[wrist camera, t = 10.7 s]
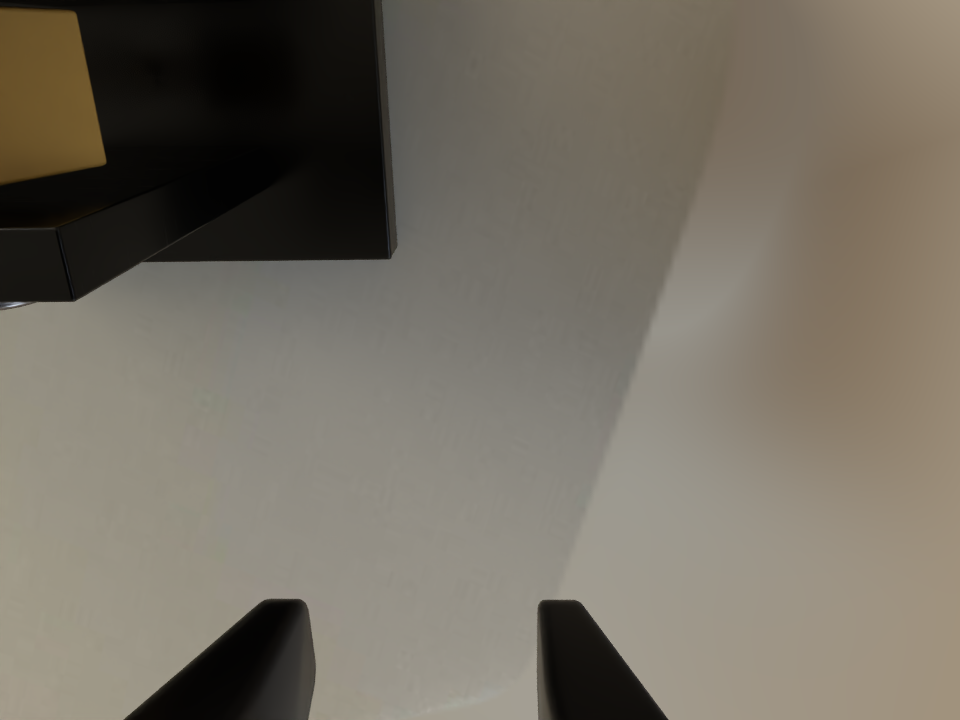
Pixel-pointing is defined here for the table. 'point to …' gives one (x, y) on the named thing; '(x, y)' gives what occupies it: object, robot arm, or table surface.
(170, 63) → the rod bracket
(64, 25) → the rod lever
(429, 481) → the table surface
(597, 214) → the table surface
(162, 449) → the table surface
